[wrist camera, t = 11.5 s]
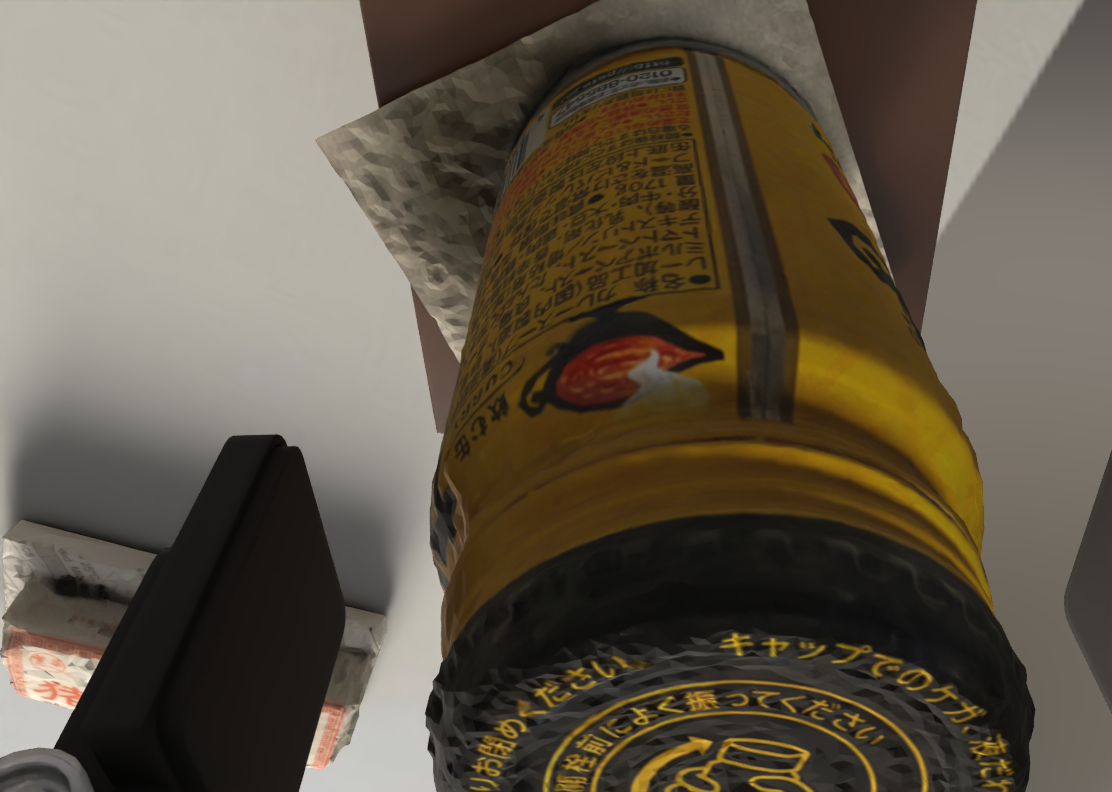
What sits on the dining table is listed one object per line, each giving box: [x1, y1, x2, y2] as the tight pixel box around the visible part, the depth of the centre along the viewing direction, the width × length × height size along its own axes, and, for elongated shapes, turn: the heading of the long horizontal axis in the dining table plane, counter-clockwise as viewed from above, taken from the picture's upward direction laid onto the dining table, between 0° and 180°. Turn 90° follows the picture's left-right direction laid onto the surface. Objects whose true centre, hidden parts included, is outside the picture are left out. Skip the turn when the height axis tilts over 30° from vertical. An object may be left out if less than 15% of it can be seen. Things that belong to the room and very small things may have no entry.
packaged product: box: [0, 520, 387, 769], centre depth 48 cm, size 18×5×10 cm
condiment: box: [315, 0, 1035, 792], centre depth 13 cm, size 7×8×12 cm
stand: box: [359, 0, 977, 434], centre depth 25 cm, size 10×10×16 cm
